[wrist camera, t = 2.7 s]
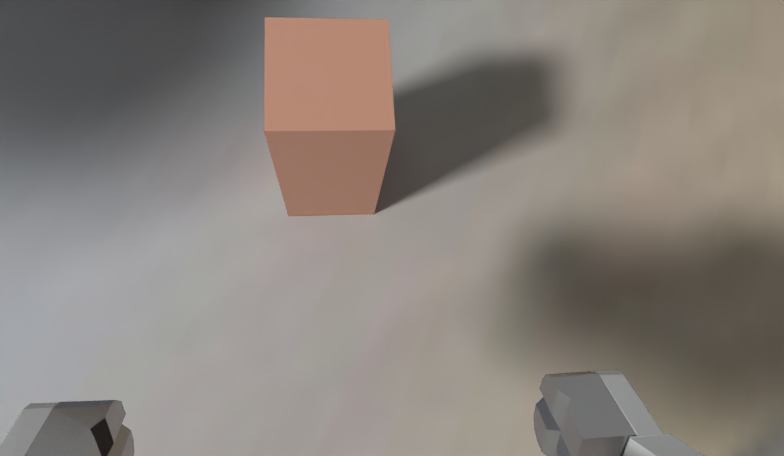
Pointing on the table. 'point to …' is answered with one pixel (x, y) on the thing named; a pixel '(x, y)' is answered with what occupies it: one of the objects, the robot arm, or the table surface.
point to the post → (328, 112)
